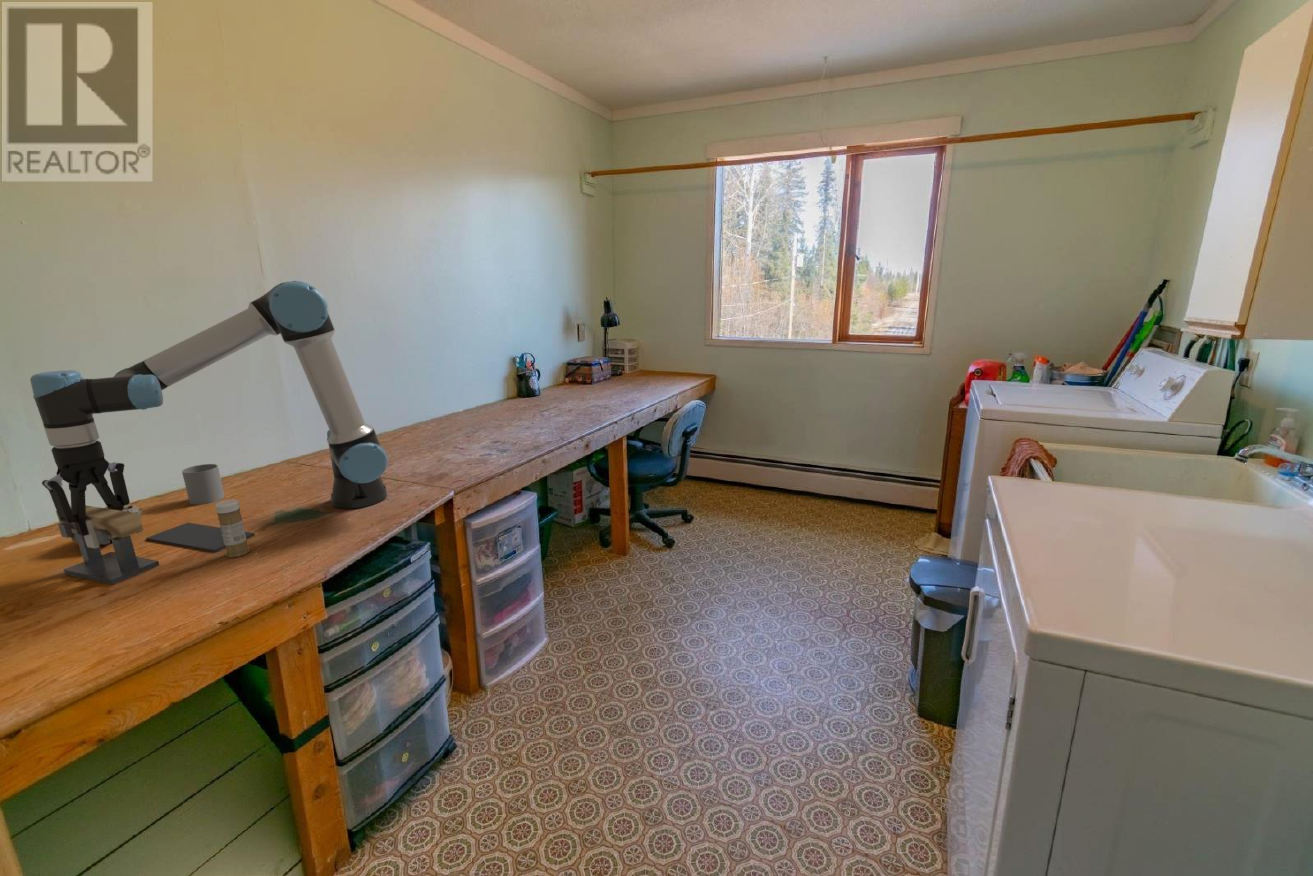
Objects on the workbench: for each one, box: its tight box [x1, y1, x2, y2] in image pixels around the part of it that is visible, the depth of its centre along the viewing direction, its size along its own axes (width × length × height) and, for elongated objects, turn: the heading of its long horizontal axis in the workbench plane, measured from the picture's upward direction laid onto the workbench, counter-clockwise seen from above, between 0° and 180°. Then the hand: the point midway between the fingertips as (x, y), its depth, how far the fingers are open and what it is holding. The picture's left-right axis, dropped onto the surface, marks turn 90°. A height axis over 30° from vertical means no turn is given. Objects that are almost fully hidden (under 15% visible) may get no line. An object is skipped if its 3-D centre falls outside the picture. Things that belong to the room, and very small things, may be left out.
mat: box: [145, 522, 256, 553], centre depth 143 cm, size 24×10×1 cm, turn 74°
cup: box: [181, 463, 225, 506], centre depth 167 cm, size 8×8×10 cm
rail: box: [55, 505, 144, 538], centre depth 124 cm, size 20×4×4 cm, turn 74°
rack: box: [57, 522, 160, 586], centre depth 125 cm, size 16×9×12 cm, turn 74°
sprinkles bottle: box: [214, 499, 250, 558], centre depth 132 cm, size 5×5×13 cm
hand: (106, 542), depth 125 cm, fingers closed on rail, 4 cm apart
